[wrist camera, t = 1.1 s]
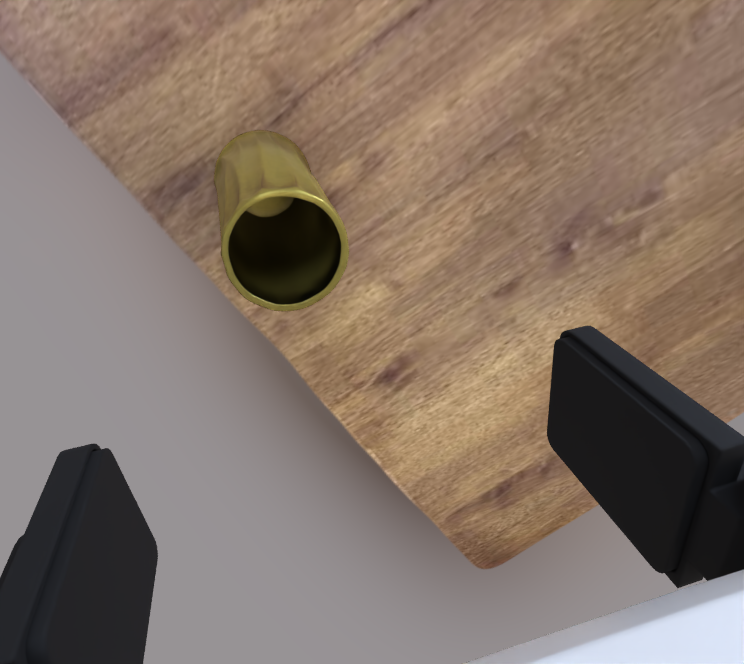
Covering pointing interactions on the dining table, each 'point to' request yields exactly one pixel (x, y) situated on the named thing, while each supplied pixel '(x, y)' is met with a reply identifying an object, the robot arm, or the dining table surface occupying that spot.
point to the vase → (276, 224)
